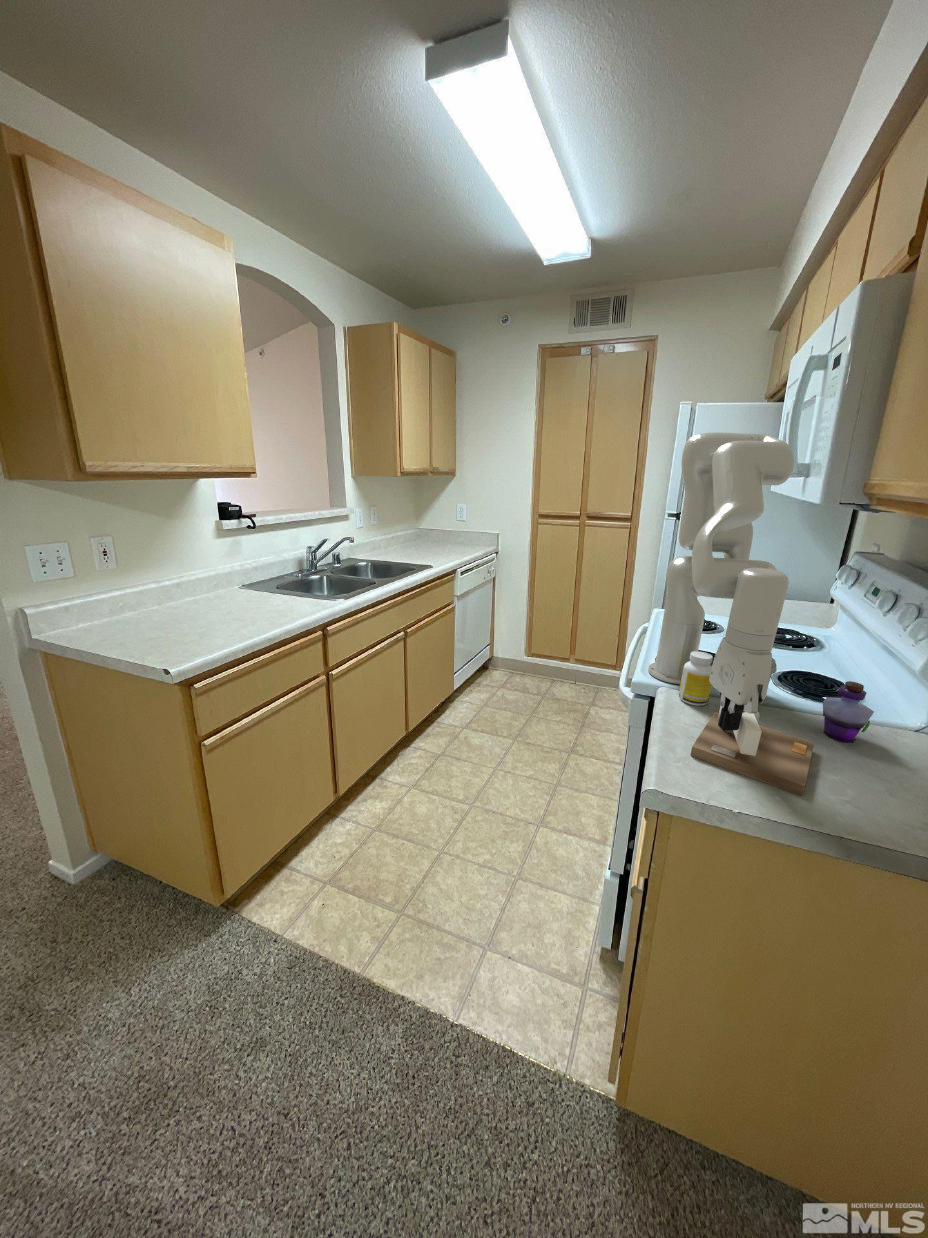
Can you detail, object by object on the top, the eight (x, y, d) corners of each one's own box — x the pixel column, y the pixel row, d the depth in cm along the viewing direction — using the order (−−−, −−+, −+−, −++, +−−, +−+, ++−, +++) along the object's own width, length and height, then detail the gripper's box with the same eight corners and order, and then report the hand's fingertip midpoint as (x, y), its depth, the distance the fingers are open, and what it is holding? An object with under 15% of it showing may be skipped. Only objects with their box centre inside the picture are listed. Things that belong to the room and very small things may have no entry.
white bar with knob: (715, 712, 103) (720, 690, 102) (752, 718, 101) (758, 696, 99) (726, 750, 89) (732, 726, 88) (769, 759, 87) (776, 734, 86)
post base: (713, 720, 107) (715, 707, 106) (811, 751, 96) (815, 737, 95) (690, 755, 93) (693, 741, 92) (802, 796, 83) (806, 781, 82)
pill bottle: (711, 708, 112) (721, 661, 108) (681, 705, 113) (690, 658, 109) (703, 695, 118) (712, 651, 114) (675, 692, 119) (683, 648, 115)
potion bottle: (870, 751, 97) (888, 697, 93) (818, 740, 100) (833, 687, 96) (859, 731, 104) (875, 680, 100) (811, 721, 107) (825, 671, 104)
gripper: (705, 624, 93) (688, 709, 99) (757, 655, 79) (734, 751, 85) (741, 623, 94) (722, 708, 100) (800, 654, 80) (773, 750, 86)
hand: (727, 728), depth 93 cm, fingers closed
